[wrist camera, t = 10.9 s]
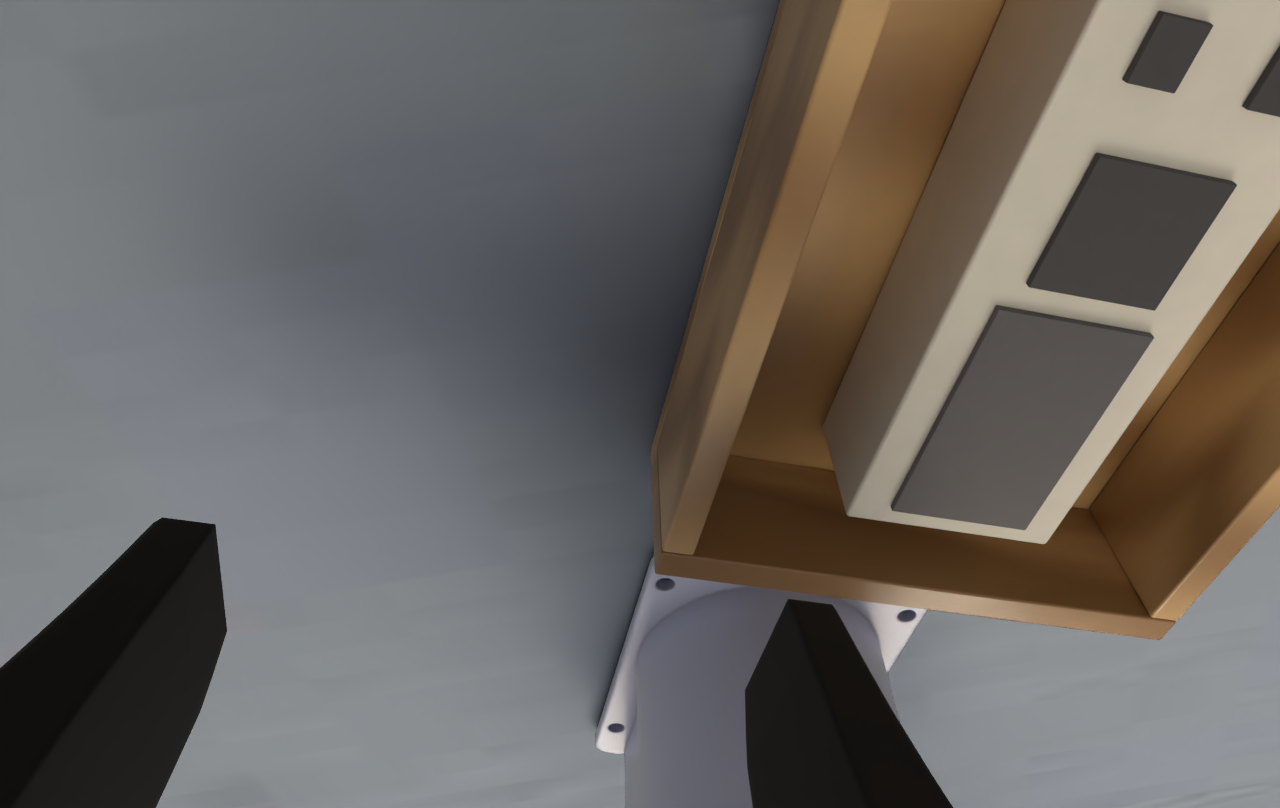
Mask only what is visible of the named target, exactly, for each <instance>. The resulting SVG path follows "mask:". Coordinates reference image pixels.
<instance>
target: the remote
mask: <svg viewBox="0 0 1280 808" xmlns="http://www.w3.org/2000/svg"><path fill="white" fill-rule="evenodd" d="M1279 209H1280V0H1006V2H1005V4H1004V7H1003V9H1002V11H1001V13H1000V16H999V18H998V20H997V23H996V25H995V27H994V30H993V32H992V34H991V37H990V39H989V41H988V44H987V46H986V48H985V51H984V53H983V55H982V58H981V60H980V62H979V65H978V67H977V69H976V71H975V74H974V76H973V78H972V81H971V83H970V85H969V88H968V90H967V92H966V95H965V97H964V99H963V102H962V104H961V106H960V109H959V111H958V113H957V116H956V118H955V120H954V123H953V125H952V127H951V130H950V132H949V134H948V136H947V139H946V141H945V143H944V146H943V148H942V150H941V153H940V155H939V157H938V160H937V162H936V164H935V167H934V169H933V171H932V174H931V176H930V178H929V181H928V183H927V185H926V188H925V190H924V192H923V195H922V197H921V199H920V201H919V204H918V206H917V208H916V211H915V213H914V215H913V218H912V220H911V222H910V225H909V227H908V229H907V232H906V234H905V236H904V239H903V241H902V243H901V246H900V248H899V250H898V253H897V255H896V257H895V259H894V262H893V264H892V266H891V269H890V271H889V273H888V276H887V278H886V280H885V283H884V285H883V287H882V290H881V292H880V294H879V297H878V299H877V301H876V304H875V306H874V308H873V311H872V313H871V315H870V318H869V320H868V322H867V324H866V327H865V329H864V331H863V334H862V336H861V338H860V341H859V343H858V345H857V348H856V350H855V352H854V355H853V357H852V359H851V362H850V364H849V366H848V369H847V371H846V373H845V376H844V378H843V380H842V382H841V385H840V387H839V389H838V392H837V394H836V396H835V399H834V401H833V403H832V406H831V408H830V410H829V413H828V415H827V417H826V420H825V422H824V424H823V430H824V434H825V437H826V441H827V445H828V449H829V452H830V456H831V460H832V463H833V467H834V471H835V475H836V478H837V482H838V486H839V489H840V493H841V497H842V500H843V504H844V508H845V512H846V514H847V515H848V516H851V517H858V518H865V519H872V520H879V521H886V522H892V523H899V524H906V525H913V526H920V527H927V528H934V529H941V530H948V531H955V532H962V533H969V534H976V535H983V536H990V537H997V538H1004V539H1011V540H1018V541H1025V542H1032V543H1039V544H1045V543H1047V541H1048V540H1049V539H1050V537H1051V536H1052V534H1053V533H1054V531H1055V530H1056V529H1057V527H1058V526H1059V524H1060V523H1061V521H1062V520H1063V518H1064V517H1065V516H1066V514H1067V513H1068V511H1069V510H1070V508H1071V507H1072V506H1073V504H1074V503H1075V501H1076V500H1077V498H1078V497H1079V496H1080V494H1081V493H1082V491H1083V490H1084V488H1085V487H1086V486H1087V484H1088V483H1089V481H1090V480H1091V478H1092V477H1093V476H1094V474H1095V473H1096V471H1097V470H1098V468H1099V467H1100V466H1101V464H1102V463H1103V461H1104V460H1105V458H1106V457H1107V455H1108V454H1109V453H1110V451H1111V450H1112V448H1113V447H1114V445H1115V444H1116V443H1117V441H1118V440H1119V438H1120V437H1121V435H1122V434H1123V433H1124V431H1125V430H1126V428H1127V427H1128V425H1129V424H1130V423H1131V421H1132V420H1133V418H1134V417H1135V415H1136V414H1137V413H1138V411H1139V410H1140V408H1141V407H1142V405H1143V404H1144V403H1145V401H1146V400H1147V398H1148V397H1149V395H1150V394H1151V392H1152V391H1153V390H1154V388H1155V387H1156V385H1157V384H1158V382H1159V381H1160V380H1161V378H1162V377H1163V375H1164V374H1165V372H1166V371H1167V370H1168V368H1169V367H1170V365H1171V364H1172V362H1173V361H1174V360H1175V358H1176V357H1177V355H1178V354H1179V352H1180V351H1181V350H1182V348H1183V347H1184V345H1185V344H1186V342H1187V341H1188V340H1189V338H1190V337H1191V335H1192V334H1193V332H1194V331H1195V329H1196V328H1197V327H1198V325H1199V324H1200V322H1201V321H1202V319H1203V318H1204V317H1205V315H1206V314H1207V312H1208V311H1209V309H1210V308H1211V307H1212V305H1213V304H1214V302H1215V301H1216V299H1217V298H1218V297H1219V295H1220V294H1221V292H1222V291H1223V289H1224V288H1225V287H1226V285H1227V284H1228V282H1229V281H1230V279H1231V278H1232V277H1233V275H1234V274H1235V272H1236V271H1237V269H1238V268H1239V266H1240V265H1241V264H1242V262H1243V261H1244V259H1245V258H1246V256H1247V255H1248V254H1249V252H1250V251H1251V249H1252V248H1253V246H1254V245H1255V244H1256V242H1257V241H1258V239H1259V238H1260V236H1261V235H1262V234H1263V232H1264V231H1265V229H1266V228H1267V226H1268V225H1269V224H1270V222H1271V221H1272V219H1273V218H1274V216H1275V215H1276V214H1277V212H1278V211H1279Z"/></svg>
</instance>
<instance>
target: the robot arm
mask: <svg viewBox="0 0 1280 808" xmlns="http://www.w3.org/2000/svg"><path fill="white" fill-rule="evenodd" d="M662 578H669V579H668V580H662ZM926 611H927V609H919V608H911V607H904V606H896V605H889V604H881V603H873V602H866V601H858V600H850V599H843V598H835V597H827V596H820V595H812V594H804V593H797V592H789V591H782V590H774V589H766V588H759V587H751V586H743V585H736V584H728V583H720V582H713V581H705V580H698V579H690V578H682V577H675V576H667V575H659V574H655V566H654V556H653V558H652V559H651V561H650V564H649V567H648V571H647V574H646V577H645V580H644V583H643V586H642V589H641V593H640V596H639V599H638V602H637V605H636V608H635V611H634V614H633V618H632V621H631V624H630V627H629V630H628V633H627V636H626V640H625V643H624V646H623V649H622V652H621V655H620V658H619V662H618V665H617V668H616V671H615V674H614V677H613V680H612V684H611V687H610V690H609V693H608V696H607V699H606V702H605V705H604V709H603V712H602V715H601V718H600V721H599V724H598V727H597V731H596V734H595V746H596V747H597V748H598V749H599V750H601V751H603V752H607V753H617V754H625V808H953V806H952V805H951V804H950V802H949V801H948V799H947V797H946V796H945V794H944V793H943V791H942V790H941V788H940V787H939V785H938V784H937V782H936V780H935V779H934V777H933V776H932V774H931V773H930V771H929V769H928V768H927V766H926V765H925V763H924V761H923V760H922V758H921V756H920V755H919V753H918V751H917V750H916V748H915V747H914V745H913V743H912V742H911V740H910V738H909V737H908V735H907V734H906V732H905V730H904V729H903V727H902V725H901V724H900V720H899V716H898V713H897V709H896V705H895V701H894V698H893V694H892V690H891V686H890V683H889V679H888V675H887V673H888V672H889V670H890V669H891V667H892V665H893V664H894V662H895V661H896V659H897V657H898V656H899V654H900V653H901V651H902V649H903V648H904V646H905V644H906V643H907V641H908V640H909V638H910V636H911V635H912V633H913V632H914V630H915V628H916V627H917V625H918V624H919V622H920V620H921V619H922V617H923V616H924V614H925V612H926ZM226 632H227V627H226V618H225V609H224V599H223V590H222V581H221V572H220V563H219V554H218V545H217V536H216V527H215V524H208V523H200V522H192V521H185V520H177V519H169V518H161V519H159V520H158V521H156V522H154V523H153V524H152V525H151V526H150V527H149V528H148V529H147V530H146V531H145V532H144V533H143V534H142V535H141V536H140V537H139V538H138V539H137V540H136V541H135V542H134V543H133V544H132V545H131V546H130V547H129V548H128V549H127V550H126V551H125V552H124V553H123V554H122V555H121V556H120V557H119V558H118V559H117V560H116V561H115V562H114V563H113V564H112V565H111V566H110V567H109V568H108V569H107V570H106V571H105V572H104V573H103V574H102V575H101V576H100V577H99V578H98V579H97V580H96V581H95V582H94V583H92V584H91V585H90V586H89V587H88V588H87V589H86V590H85V591H84V592H83V593H82V594H81V595H80V596H79V597H78V598H77V599H76V600H75V601H74V602H73V603H71V604H70V605H69V606H68V607H67V608H66V609H65V610H64V611H63V612H62V613H61V614H60V615H59V616H58V617H56V618H55V619H54V620H53V621H52V622H51V623H50V624H49V625H48V626H46V627H45V628H44V629H43V630H42V631H41V632H40V633H39V634H38V635H37V636H35V637H34V638H33V639H32V640H31V641H30V642H29V643H28V644H27V645H26V646H24V647H23V648H22V649H21V650H20V651H19V652H18V653H17V654H16V655H14V656H13V657H12V658H11V659H10V660H9V661H8V662H7V663H6V664H4V665H3V666H2V667H1V668H0V808H156V806H157V804H158V802H159V799H160V797H161V795H162V793H163V791H164V789H165V787H166V784H167V782H168V780H169V778H170V776H171V774H172V772H173V769H174V767H175V765H176V763H177V761H178V759H179V756H180V754H181V752H182V750H183V748H184V746H185V743H186V741H187V739H188V737H189V735H190V733H191V730H192V728H193V726H194V724H195V722H196V719H197V717H198V715H199V713H200V711H201V708H202V705H203V702H204V699H205V696H206V693H207V690H208V687H209V684H210V681H211V679H212V676H213V673H214V669H215V666H216V663H217V660H218V657H219V654H220V651H221V648H222V645H223V642H224V638H225V635H226Z"/></svg>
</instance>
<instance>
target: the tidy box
mask: <svg viewBox="0 0 1280 808" xmlns="http://www.w3.org/2000/svg"><path fill="white" fill-rule="evenodd" d="M1005 2H1006V0H780V2H779V6H778V9H777V13H776V16H775V20H774V23H773V27H772V30H771V34H770V37H769V41H768V44H767V48H766V51H765V55H764V58H763V62H762V65H761V69H760V72H759V76H758V79H757V83H756V86H755V89H754V93H753V96H752V100H751V103H750V107H749V110H748V114H747V117H746V121H745V124H744V128H743V131H742V135H741V138H740V142H739V145H738V149H737V152H736V156H735V159H734V163H733V166H732V170H731V173H730V176H729V180H728V183H727V187H726V190H725V194H724V197H723V201H722V204H721V208H720V211H719V215H718V218H717V222H716V225H715V229H714V232H713V236H712V239H711V243H710V246H709V250H708V253H707V256H706V260H705V263H704V267H703V270H702V274H701V277H700V281H699V284H698V288H697V291H696V295H695V298H694V302H693V305H692V309H691V312H690V316H689V319H688V323H687V326H686V330H685V333H684V337H683V340H682V343H681V347H680V350H679V354H678V357H677V361H676V364H675V368H674V371H673V375H672V378H671V382H670V385H669V389H668V392H667V396H666V399H665V403H664V406H663V410H662V413H661V417H660V420H659V424H658V427H657V430H656V434H655V437H654V441H653V444H652V448H651V480H652V509H653V538H654V566H655V574H659V575H667V576H675V577H682V578H690V579H698V580H705V581H713V582H720V583H728V584H736V585H743V586H751V587H759V588H766V589H774V590H782V591H789V592H797V593H804V594H812V595H820V596H827V597H835V598H843V599H850V600H858V601H866V602H873V603H881V604H889V605H896V606H904V607H911V608H919V609H927V610H934V611H942V612H950V613H957V614H965V615H973V616H980V617H988V618H995V619H1003V620H1011V621H1018V622H1026V623H1034V624H1041V625H1049V626H1057V627H1064V628H1072V629H1080V630H1087V631H1095V632H1102V633H1110V634H1118V635H1125V636H1133V637H1141V638H1148V639H1156V640H1160V639H1161V638H1162V637H1163V636H1164V635H1165V634H1166V633H1167V632H1168V631H1169V630H1170V628H1171V627H1172V626H1173V625H1174V624H1175V622H1176V620H1178V619H1179V618H1180V617H1181V616H1182V615H1183V614H1184V613H1185V611H1186V610H1187V609H1188V608H1189V607H1190V606H1191V605H1192V604H1193V602H1194V601H1195V600H1196V599H1197V598H1198V597H1199V596H1200V595H1201V594H1202V592H1203V591H1204V590H1205V589H1206V588H1207V587H1208V586H1209V585H1210V584H1211V582H1212V581H1213V580H1214V579H1215V578H1216V577H1217V576H1218V575H1219V573H1220V572H1221V571H1222V570H1223V569H1224V568H1225V567H1226V566H1227V565H1228V563H1229V562H1230V561H1231V560H1232V559H1233V558H1234V557H1235V556H1236V554H1237V553H1238V552H1239V551H1240V550H1241V549H1242V548H1243V547H1244V546H1245V544H1246V543H1247V542H1248V541H1249V540H1250V539H1251V538H1252V537H1253V535H1254V534H1255V533H1256V532H1257V531H1258V530H1259V529H1260V528H1261V527H1262V525H1263V524H1264V523H1265V522H1266V521H1267V520H1268V519H1269V518H1270V516H1271V515H1272V514H1273V513H1274V512H1275V511H1276V510H1277V509H1278V508H1279V506H1280V209H1279V211H1278V212H1277V214H1276V215H1275V216H1274V218H1273V219H1272V221H1271V222H1270V224H1269V225H1268V226H1267V228H1266V229H1265V231H1264V232H1263V234H1262V235H1261V236H1260V238H1259V239H1258V241H1257V242H1256V244H1255V245H1254V246H1253V248H1252V249H1251V251H1250V252H1249V254H1248V255H1247V256H1246V258H1245V259H1244V261H1243V262H1242V264H1241V265H1240V266H1239V268H1238V269H1237V271H1236V272H1235V274H1234V275H1233V277H1232V278H1231V279H1230V281H1229V282H1228V284H1227V285H1226V287H1225V288H1224V289H1223V291H1222V292H1221V294H1220V295H1219V297H1218V298H1217V299H1216V301H1215V302H1214V304H1213V305H1212V307H1211V308H1210V309H1209V311H1208V312H1207V314H1206V315H1205V317H1204V318H1203V319H1202V321H1201V322H1200V324H1199V325H1198V327H1197V328H1196V329H1195V331H1194V332H1193V334H1192V335H1191V337H1190V338H1189V340H1188V341H1187V342H1186V344H1185V345H1184V347H1183V348H1182V350H1181V351H1180V352H1179V354H1178V355H1177V357H1176V358H1175V360H1174V361H1173V362H1172V364H1171V365H1170V367H1169V368H1168V370H1167V371H1166V372H1165V374H1164V375H1163V377H1162V378H1161V380H1160V381H1159V382H1158V384H1157V385H1156V387H1155V388H1154V390H1153V391H1152V392H1151V394H1150V395H1149V397H1148V398H1147V400H1146V401H1145V403H1144V404H1143V405H1142V407H1141V408H1140V410H1139V411H1138V413H1137V414H1136V415H1135V417H1134V418H1133V420H1132V421H1131V423H1130V424H1129V425H1128V427H1127V428H1126V430H1125V431H1124V433H1123V434H1122V435H1121V437H1120V438H1119V440H1118V441H1117V443H1116V444H1115V445H1114V447H1113V448H1112V450H1111V451H1110V453H1109V454H1108V455H1107V457H1106V458H1105V460H1104V461H1103V463H1102V464H1101V466H1100V467H1099V468H1098V470H1097V471H1096V473H1095V474H1094V476H1093V477H1092V478H1091V480H1090V481H1089V483H1088V484H1087V486H1086V487H1085V488H1084V490H1083V491H1082V493H1081V494H1080V496H1079V497H1078V498H1077V500H1076V501H1075V503H1074V504H1073V506H1072V507H1071V508H1070V510H1069V511H1068V513H1067V514H1066V516H1065V517H1064V518H1063V520H1062V521H1061V523H1060V524H1059V526H1058V527H1057V529H1056V530H1055V531H1054V533H1053V534H1052V536H1051V537H1050V539H1049V540H1048V541H1047V543H1045V544H1039V543H1032V542H1025V541H1018V540H1011V539H1004V538H997V537H990V536H983V535H976V534H969V533H962V532H955V531H948V530H941V529H934V528H927V527H920V526H913V525H906V524H899V523H892V522H886V521H879V520H872V519H865V518H858V517H851V516H848V515H847V514H846V512H845V508H844V504H843V500H842V497H841V493H840V489H839V486H838V482H837V478H836V475H835V471H834V467H833V463H832V460H831V456H830V452H829V449H828V445H827V441H826V437H825V434H824V430H823V424H824V422H825V420H826V417H827V415H828V413H829V410H830V408H831V406H832V403H833V401H834V399H835V396H836V394H837V392H838V389H839V387H840V385H841V382H842V380H843V378H844V376H845V373H846V371H847V369H848V366H849V364H850V362H851V359H852V357H853V355H854V352H855V350H856V348H857V345H858V343H859V341H860V338H861V336H862V334H863V331H864V329H865V327H866V324H867V322H868V320H869V318H870V315H871V313H872V311H873V308H874V306H875V304H876V301H877V299H878V297H879V294H880V292H881V290H882V287H883V285H884V283H885V280H886V278H887V276H888V273H889V271H890V269H891V266H892V264H893V262H894V259H895V257H896V255H897V253H898V250H899V248H900V246H901V243H902V241H903V239H904V236H905V234H906V232H907V229H908V227H909V225H910V222H911V220H912V218H913V215H914V213H915V211H916V208H917V206H918V204H919V201H920V199H921V197H922V195H923V192H924V190H925V188H926V185H927V183H928V181H929V178H930V176H931V174H932V171H933V169H934V167H935V164H936V162H937V160H938V157H939V155H940V153H941V150H942V148H943V146H944V143H945V141H946V139H947V136H948V134H949V132H950V130H951V127H952V125H953V123H954V120H955V118H956V116H957V113H958V111H959V109H960V106H961V104H962V102H963V99H964V97H965V95H966V92H967V90H968V88H969V85H970V83H971V81H972V78H973V76H974V74H975V71H976V69H977V67H978V65H979V62H980V60H981V58H982V55H983V53H984V51H985V48H986V46H987V44H988V41H989V39H990V37H991V34H992V32H993V30H994V27H995V25H996V23H997V20H998V18H999V16H1000V13H1001V11H1002V9H1003V7H1004V4H1005Z"/></svg>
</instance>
